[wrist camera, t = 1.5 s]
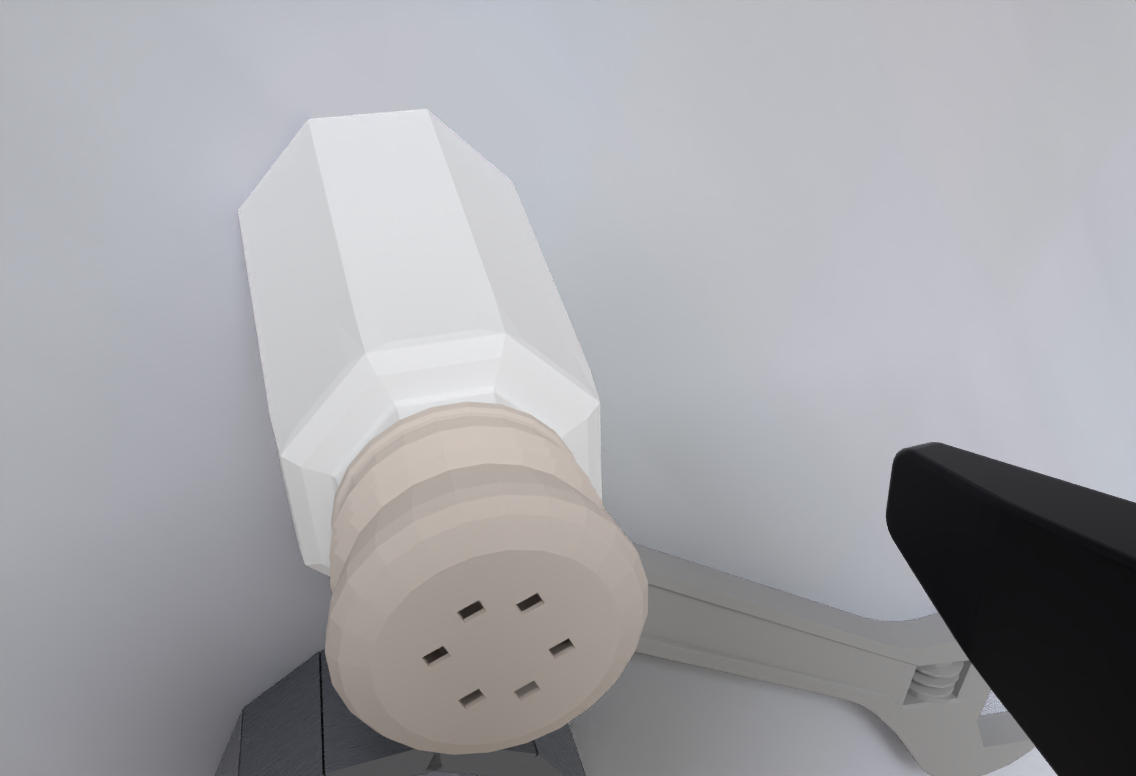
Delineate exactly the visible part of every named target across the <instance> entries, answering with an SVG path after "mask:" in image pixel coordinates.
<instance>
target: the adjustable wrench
mask: <svg viewBox="0 0 1136 776" xmlns="http://www.w3.org/2000/svg"><path fill="white" fill-rule="evenodd" d="M632 544H633V546H634V547H635V549H636V550H637V552H638V554H639V557H640V560H641V563H642V566H643V569H644V572H645V575H646V577H647V580H648V615H647V618H646V621H645V624H644V627H643V630H642V633H641V636H640V639H639V643H638V645H637V648H636V650H635V652H638V653H642V654H647V655H651V656H655V657H660V658H664V659H669V660H673V661H678V662H682V663H686V664H691V665H695V666H700V667H704V668H708V669H713V670H717V671H722V672H726V673H731V674H735V675H739V676H744V677H748V678H753V679H757V680H762V681H766V682H770V683H775V684H779V685H784V686H788V687H793V688H797V689H801V690H806V691H810V692H815V693H819V694H824V695H828V696H832V697H837V698H841V699H845V700H848V701H851V702H854V703H857V704H859V705H862V706H864V707H865V708H867V709H868V710H870V711H871V712H873V713H874V714H876V715H877V716H878V717H879V718H880V719H881V720H882V721H883V722H884V723H886V724H887V725H888V726H889V727H890V728H891V729H892V730H893V731H894V732H895V733H896V734H897V736H898V737H899V739H900V740H901V742H902V743H903V744H904V746H905V747H906V748H907V750H908V751H909V752H910V754H911V755H912V756H913V758H914V759H915V760H916V762H917V763H918V764H919V766H920V767H921V768H922V770H924V771H925V772H926V773H928V774H929V775H932V776H981V775H985V774H988V773H990V772H993V771H995V770H997V769H1000V768H1002V767H1004V766H1007V765H1009V764H1011V763H1012V762H1014V761H1015V760H1017V759H1019V758H1020V757H1022V756H1023V755H1025V754H1026V753H1028V752H1029V751H1031V750H1032V749H1033V748H1034V747H1035V745H1034V744H1033V743H1032V742H1031V740H1030V739H1029V738H1028V736H1027V735H1026V734H1025V733H1024V731H1023V730H1022V729H1021V727H1020V726H1019V725H1018V723H1017V722H1016V721H1015V720H1014V718H1013V717H1012V716H1011V714H1010V713H1009V712H1008V711H1006V712H1000V713H993V714H987V715H981V716H979V715H980V713H981V711H982V709H983V707H984V705H985V702H986V700H987V698H988V695H989V693H990V690H991V689H990V687H989V686H988V685H987V683H986V682H985V681H984V679H983V678H982V677H981V675H980V674H979V673H978V671H977V670H976V669H975V667H974V666H973V665H972V663H971V662H970V660H969V659H968V658H967V656H966V655H965V653H964V652H963V650H962V649H961V647H960V646H959V644H958V643H957V641H956V640H955V638H954V637H953V635H952V633H951V632H950V630H949V629H948V627H947V625H946V624H945V622H944V621H943V619H942V617H941V616H940V614H939V613H935V614H932V615H928V616H925V617H922V618H918V619H913V620H906V621H879V620H874V619H868V618H863V617H860V616H857V615H854V614H851V613H848V612H845V611H842V610H839V609H835V608H832V607H829V606H826V605H823V604H820V603H817V602H814V601H811V600H808V599H804V598H801V597H798V596H795V595H792V594H789V593H786V592H783V591H780V590H776V589H773V588H770V587H767V586H764V585H761V584H758V583H755V582H752V581H749V580H745V579H742V578H739V577H736V576H733V575H730V574H727V573H724V572H721V571H717V570H714V569H711V568H708V567H705V566H702V565H699V564H696V563H693V562H690V561H686V560H683V559H680V558H677V557H674V556H671V555H668V554H665V553H662V552H658V551H655V550H652V549H649V548H646V547H643V546H640V545H637V544H634V543H632Z"/></svg>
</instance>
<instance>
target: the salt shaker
mask: <svg viewBox="0 0 1136 776" xmlns="http://www.w3.org/2000/svg"><path fill="white" fill-rule="evenodd" d="M238 215H239V221H240V228H241V234H242V241H243V247H244V253H245V260H246V266H247V273H248V279H249V286H250V292H251V298H252V305H253V311H254V318H255V324H256V330H257V337H258V343H259V350H260V356H261V363H262V369H263V375H264V382H265V388H266V395H267V401H268V407H269V414H270V419H271V423H272V427H273V431H274V435H275V439H276V444H277V449H278V455H279V461H280V467H281V472H282V476H283V481H284V485H285V489H286V494H287V498H288V502H289V507H290V511H291V516H292V520H293V524H294V529H295V533H296V537H297V542H298V545H299V548H300V551H301V554H302V557H303V561H304V564H305V565H306V566H308V567H310V568H313V569H315V570H317V571H319V572H321V573H323V574H325V575H327V576H329V577H331V578H330V588H331V592H332V598H331V600H330V607H329V614H328V622H327V629H326V639H325V655H326V660H327V664H328V668H329V673H330V677H331V681H332V685H333V687H334V688H335V690H336V691H337V693H338V694H339V696H340V697H341V699H342V700H343V702H344V703H345V705H346V706H347V708H348V709H349V711H350V712H351V713H352V714H354V715H355V716H356V717H358V718H359V719H360V720H362V721H363V722H364V723H365V724H367V725H368V726H369V727H371V728H372V729H373V730H375V731H376V732H377V733H379V734H381V735H383V736H384V737H386V738H389V739H391V740H394V741H396V742H399V743H401V744H404V745H407V746H409V747H412V748H414V749H417V750H422V751H429V752H437V753H444V754H451V755H457V754H473V753H488V752H494V751H497V750H501V749H505V748H509V747H513V746H517V745H521V744H525V743H528V742H530V741H532V740H535V739H537V738H539V737H541V736H544V735H546V734H548V733H550V732H553V731H555V730H557V729H559V728H561V727H563V726H564V725H566V724H567V723H569V722H570V721H571V720H573V719H574V718H576V717H577V716H579V715H580V714H582V713H583V712H585V711H586V710H588V709H589V708H591V707H592V706H593V705H594V704H595V703H596V702H597V701H598V700H599V699H600V698H601V697H602V696H603V695H604V694H605V693H606V692H607V691H608V690H609V688H610V687H611V686H612V685H613V684H614V683H615V682H616V681H617V679H618V678H619V676H620V675H621V673H622V671H623V670H624V668H625V667H626V665H627V664H628V662H629V660H630V659H631V657H632V656H633V654H634V652H635V650H636V648H637V645H638V643H639V639H640V636H641V633H642V630H643V627H644V624H645V621H646V618H647V615H648V580H647V577H646V575H645V572H644V569H643V566H642V563H641V560H640V557H639V554H638V552H637V550H636V549H635V547H634V546H633V544H632V543H631V541H630V540H629V538H628V537H627V536H626V535H625V533H624V532H623V531H622V530H621V528H620V527H619V526H618V525H617V523H616V522H615V521H614V520H613V518H612V517H611V516H610V515H609V514H608V513H607V512H606V511H605V508H604V505H603V502H602V470H601V420H600V401H599V397H598V394H597V391H596V388H595V384H594V381H593V378H592V374H591V371H590V368H589V365H588V363H587V361H586V358H585V356H584V353H583V351H582V348H581V346H580V344H579V341H578V339H577V336H576V334H575V332H574V329H573V327H572V324H571V322H570V320H569V317H568V315H567V312H566V310H565V307H564V305H563V303H562V300H561V298H560V295H559V293H558V291H557V288H556V286H555V283H554V281H553V279H552V276H551V274H550V271H549V269H548V266H547V264H546V262H545V259H544V257H543V254H542V252H541V250H540V247H539V245H538V242H537V240H536V238H535V235H534V233H533V230H532V228H531V225H530V223H529V221H528V218H527V216H526V213H525V211H524V209H523V206H522V204H521V201H520V199H519V197H518V194H517V192H516V189H515V187H514V184H513V182H512V181H511V180H510V179H509V178H507V177H506V176H505V175H504V174H503V173H502V172H500V171H499V170H498V169H497V168H496V167H495V166H493V165H492V164H491V163H490V162H489V161H488V160H486V159H485V158H484V157H483V156H482V155H480V154H479V153H478V152H477V151H476V150H475V149H473V148H472V147H471V146H470V145H469V144H468V143H466V142H465V141H464V140H463V139H462V138H461V137H459V136H458V135H457V134H456V133H455V132H454V131H452V130H451V129H450V128H449V127H448V126H447V125H445V124H444V123H443V122H442V121H441V120H439V119H438V118H437V117H436V116H435V115H434V114H432V113H431V112H430V111H429V110H428V109H419V110H408V111H396V112H384V113H372V114H360V115H349V116H337V117H325V118H313V119H308V120H307V121H306V122H305V123H304V125H303V126H302V127H301V129H300V130H299V131H298V133H297V134H296V135H295V137H294V138H293V139H292V140H291V142H290V143H289V144H288V146H287V147H286V148H285V150H284V151H283V152H282V154H281V155H280V156H279V157H278V159H277V160H276V161H275V163H274V164H273V165H272V167H271V168H270V169H269V171H268V172H267V173H266V174H265V176H264V177H263V178H262V180H261V181H260V182H259V184H258V185H257V186H256V188H255V189H254V190H253V192H252V193H251V194H250V195H249V197H248V198H247V199H246V201H245V202H244V203H243V205H242V206H241V207H240V209H239V210H238Z"/></svg>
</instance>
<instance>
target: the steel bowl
mask: <svg viewBox="0 0 1136 776" xmlns="http://www.w3.org/2000/svg"><path fill="white" fill-rule="evenodd" d="M431 771H441V772H451V773H461V774H471V775H481V776H586V775H585V772H584V769H583V766H582V763H581V760H580V757H579V754H578V751H577V749H576V746H575V743H574V740H573V737H572V734H571V731H570V728H569V725H568V723H567V724H566V725H564V726H563V727H561V728H559V729H557V730H555V731H553V732H550V733H548V734H546V735H544V736H541V737H539V738H537V739H535V740H532V741H530V742H528V743H525V744H521V745H517V746H513V747H509V748H505V749H501V750H497V751H494V752H488V753H473V754H457V755H451V754H444V753H437V752H429V751H422V750H417V749H414V748H412V747H409V746H407V745H404V744H401V743H399V742H396V741H394V740H391V739H389V738H386V737H384V736H383V735H381V734H379V733H377V732H376V731H375V730H373V729H372V728H371V727H369V726H368V725H367V724H365V723H364V722H363V721H362V720H360V719H359V718H358V717H356V716H355V715H354V714H352V713H351V712H350V711H349V709H348V708H347V706H346V705H345V703H344V702H343V700H342V699H341V697H340V696H339V694H338V693H337V691H336V690H335V688H334V687H333V685H332V681H331V677H330V673H329V668H328V664H327V660H326V655H325V651H321V654H320V653H317V654H316V655H315V656H313V657H312V658H311V659H309V660H308V661H307V662H305V663H304V664H303V665H301V666H300V667H298V668H297V669H296V670H294V671H293V672H292V673H290V674H289V675H288V676H286V677H285V678H284V679H282V680H281V681H280V682H278V683H277V684H275V685H274V686H273V687H271V688H270V689H269V690H267V691H266V692H265V693H263V694H262V695H261V696H259V697H258V698H257V699H255V700H254V701H253V702H251V703H250V704H248V705H247V706H246V707H244V710H242V712H241V714H240V717H239V719H238V722H237V724H236V726H235V729H234V731H233V734H232V736H231V738H230V741H229V743H228V746H227V748H226V750H225V753H224V755H223V758H222V760H221V762H220V765H219V767H218V770H217V772H216V774H215V776H417V775H420V774H424V773H428V772H431Z"/></svg>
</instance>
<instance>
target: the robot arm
mask: <svg viewBox="0 0 1136 776" xmlns="http://www.w3.org/2000/svg"><path fill="white" fill-rule="evenodd" d="M886 522H887V526H888V530H889V532H890V535H891V537H892V539H893V541H894V542H895V544H896V545H897V547H898V549H899V550H900V552H901V553H902V555H903V557H904V558H905V560H906V561H907V563H908V565H909V566H910V568H911V569H912V571H913V573H914V574H915V576H916V577H917V579H918V581H919V582H920V584H921V585H922V587H923V589H924V590H925V592H926V593H927V595H928V597H929V598H930V600H931V601H932V603H933V605H934V606H935V608H936V609H937V611H938V613H939V614H940V616H941V617H942V619H943V621H944V622H945V624H946V625H947V627H948V629H949V630H950V632H951V633H952V635H953V637H954V638H955V640H956V641H957V643H958V644H959V646H960V647H961V649H962V650H963V652H964V653H965V655H966V656H967V658H968V659H969V660H970V662H971V663H972V665H973V666H974V667H975V669H976V670H977V671H978V673H979V674H980V675H981V677H982V678H983V679H984V681H985V682H986V683H987V685H988V686H989V687H990V689H991V690H992V691H993V692H994V694H995V695H996V696H997V698H998V699H999V700H1000V701H1001V703H1002V704H1003V705H1004V707H1005V708H1006V709H1007V711H1008V712H1009V713H1010V714H1011V716H1012V717H1013V718H1014V720H1015V721H1016V722H1017V723H1018V725H1019V726H1020V727H1021V729H1022V730H1023V731H1024V733H1025V734H1026V735H1027V736H1028V738H1029V739H1030V740H1031V742H1032V743H1033V744H1034V745H1035V747H1036V748H1037V749H1038V751H1039V752H1040V753H1041V755H1042V756H1043V757H1044V758H1045V760H1046V761H1047V762H1048V764H1049V765H1050V766H1051V767H1052V769H1053V770H1054V771H1055V773H1056V774H1057V775H1058V776H1136V503H1135V502H1131V501H1128V500H1125V499H1122V498H1118V497H1115V496H1112V495H1109V494H1105V493H1102V492H1099V491H1096V490H1092V489H1089V488H1086V487H1083V486H1079V485H1076V484H1073V483H1070V482H1066V481H1063V480H1060V479H1057V478H1053V477H1050V476H1047V475H1044V474H1040V473H1037V472H1034V471H1030V470H1027V469H1024V468H1021V467H1017V466H1014V465H1011V464H1008V463H1004V462H1001V461H998V460H995V459H991V458H988V457H985V456H982V455H978V454H975V453H972V452H969V451H965V450H962V449H959V448H956V447H952V446H949V445H946V444H943V443H939V442H930V443H925V444H921V445H917V446H912V447H908V448H904V449H902V450H900V451H899V452H898V453H897V454H896V456H895V458H894V460H893V464H892V471H891V479H890V486H889V493H888V501H887V508H886Z"/></svg>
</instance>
